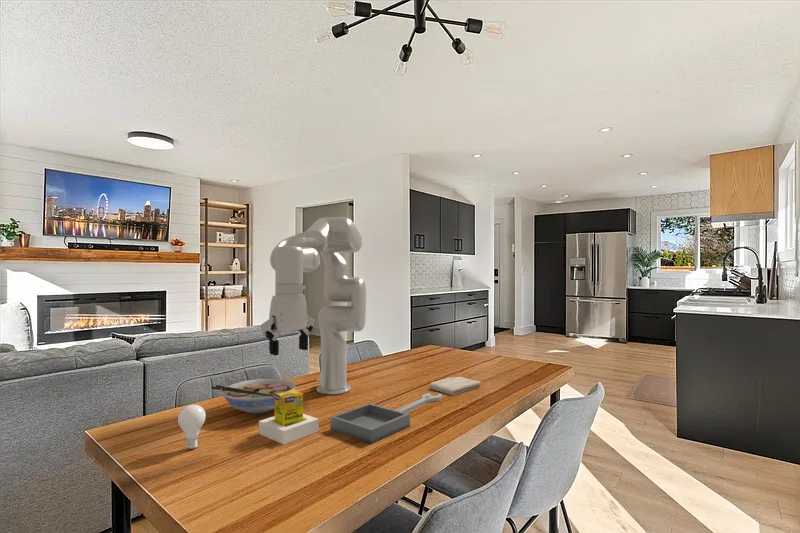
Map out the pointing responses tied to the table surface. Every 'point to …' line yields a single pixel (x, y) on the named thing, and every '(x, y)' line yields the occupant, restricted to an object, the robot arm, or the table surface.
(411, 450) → the table surface
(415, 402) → the adjustable wrench
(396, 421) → the tray
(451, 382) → the washcloth
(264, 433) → the socket collar
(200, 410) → the lightbulb
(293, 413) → the supplement box
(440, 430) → the table surface
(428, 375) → the table surface
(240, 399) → the ramen bowl
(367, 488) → the table surface
